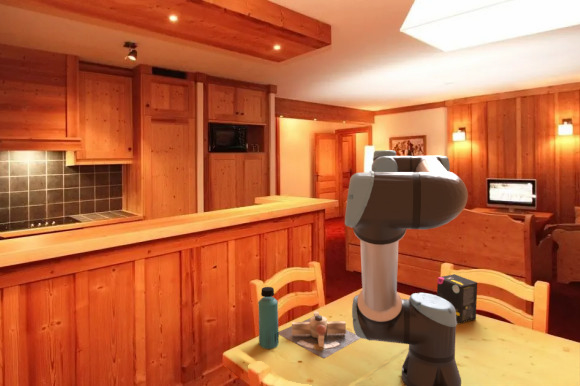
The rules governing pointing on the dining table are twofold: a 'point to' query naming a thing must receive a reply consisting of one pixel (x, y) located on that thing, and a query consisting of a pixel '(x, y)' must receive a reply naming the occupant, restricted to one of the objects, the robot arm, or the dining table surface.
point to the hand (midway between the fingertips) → (383, 264)
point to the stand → (311, 343)
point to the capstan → (319, 327)
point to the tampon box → (459, 296)
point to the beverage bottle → (268, 319)
